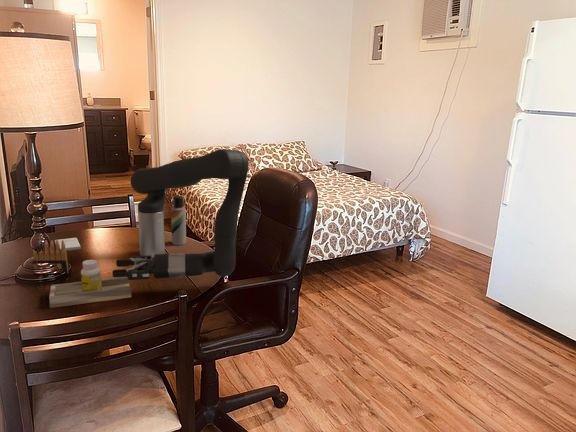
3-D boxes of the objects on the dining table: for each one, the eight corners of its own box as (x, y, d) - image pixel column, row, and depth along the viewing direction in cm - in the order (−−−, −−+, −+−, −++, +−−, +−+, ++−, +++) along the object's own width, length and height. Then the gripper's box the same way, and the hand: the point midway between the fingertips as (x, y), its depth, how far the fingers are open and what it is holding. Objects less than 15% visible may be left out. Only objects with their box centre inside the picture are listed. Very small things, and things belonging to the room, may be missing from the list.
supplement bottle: (79, 291, 137) (77, 261, 134) (97, 286, 141) (95, 257, 138) (86, 297, 133) (84, 266, 131) (104, 292, 137) (102, 262, 135)
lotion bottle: (178, 240, 191) (177, 193, 186) (189, 242, 189) (188, 196, 183) (169, 243, 187) (167, 196, 181) (179, 246, 184) (178, 198, 179)
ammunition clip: (69, 272, 153) (66, 239, 150) (67, 274, 152) (64, 240, 148) (36, 273, 152) (32, 239, 149) (33, 275, 150) (29, 240, 147)
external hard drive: (57, 253, 172) (54, 243, 183) (80, 250, 176) (77, 240, 187) (57, 249, 172) (54, 239, 182) (80, 246, 176) (76, 237, 186)
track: (52, 293, 137) (51, 284, 136) (128, 284, 146) (128, 275, 145) (50, 307, 128) (49, 298, 128) (131, 297, 137) (131, 288, 136)
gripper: (170, 246, 146) (116, 248, 142) (169, 262, 133) (110, 265, 129) (170, 268, 148) (118, 271, 144) (170, 286, 135) (112, 289, 131)
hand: (114, 268), depth 137 cm, fingers open, 8 cm apart
